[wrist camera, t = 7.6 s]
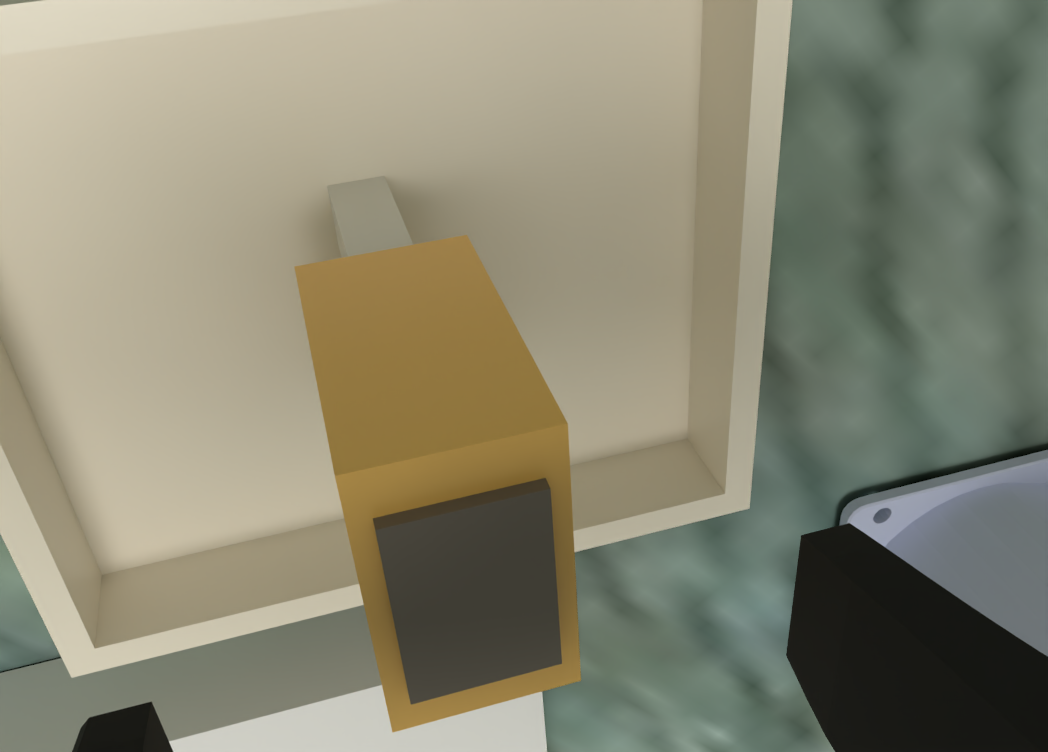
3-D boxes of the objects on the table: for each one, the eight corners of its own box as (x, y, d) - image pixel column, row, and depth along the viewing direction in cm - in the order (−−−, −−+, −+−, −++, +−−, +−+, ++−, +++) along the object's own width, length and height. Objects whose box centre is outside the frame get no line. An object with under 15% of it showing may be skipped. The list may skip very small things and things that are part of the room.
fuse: (428, 162, 18) (573, 434, 11) (454, 370, 20) (585, 692, 13) (279, 188, 17) (337, 487, 10) (325, 397, 20) (395, 744, 13)
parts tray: (724, -120, 17) (801, -97, 15) (699, 438, 24) (749, 508, 22) (-182, -11, 14) (-244, 36, 12) (83, 582, 21) (71, 677, 19)
